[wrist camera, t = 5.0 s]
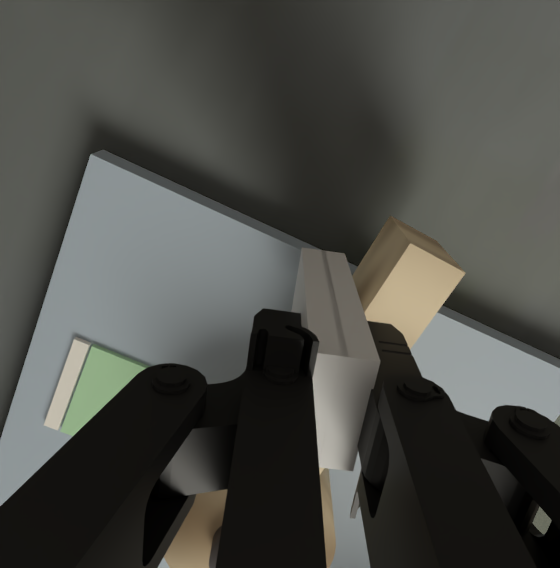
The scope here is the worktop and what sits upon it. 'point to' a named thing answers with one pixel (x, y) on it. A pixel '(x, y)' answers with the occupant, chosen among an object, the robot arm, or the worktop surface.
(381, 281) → the peg knob
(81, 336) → the board
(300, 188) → the worktop surface
